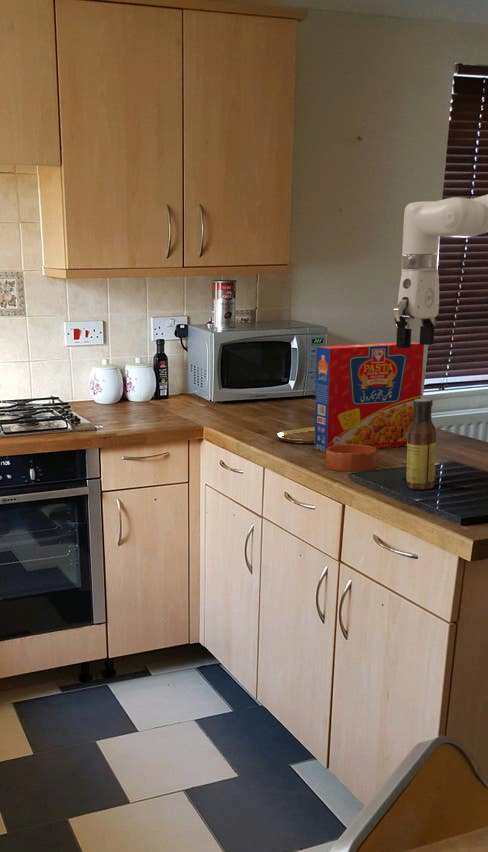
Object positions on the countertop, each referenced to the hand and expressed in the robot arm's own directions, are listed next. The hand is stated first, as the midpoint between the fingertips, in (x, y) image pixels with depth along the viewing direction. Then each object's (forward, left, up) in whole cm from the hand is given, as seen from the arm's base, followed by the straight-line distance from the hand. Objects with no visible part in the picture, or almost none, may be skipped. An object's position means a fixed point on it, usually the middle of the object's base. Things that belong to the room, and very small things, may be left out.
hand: (415, 346), depth 193 cm
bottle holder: (+20, -11, -31) cm, 38 cm away
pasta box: (+28, -37, -31) cm, 56 cm away
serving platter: (+45, -48, -31) cm, 73 cm away
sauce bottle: (-4, +3, -31) cm, 32 cm away
